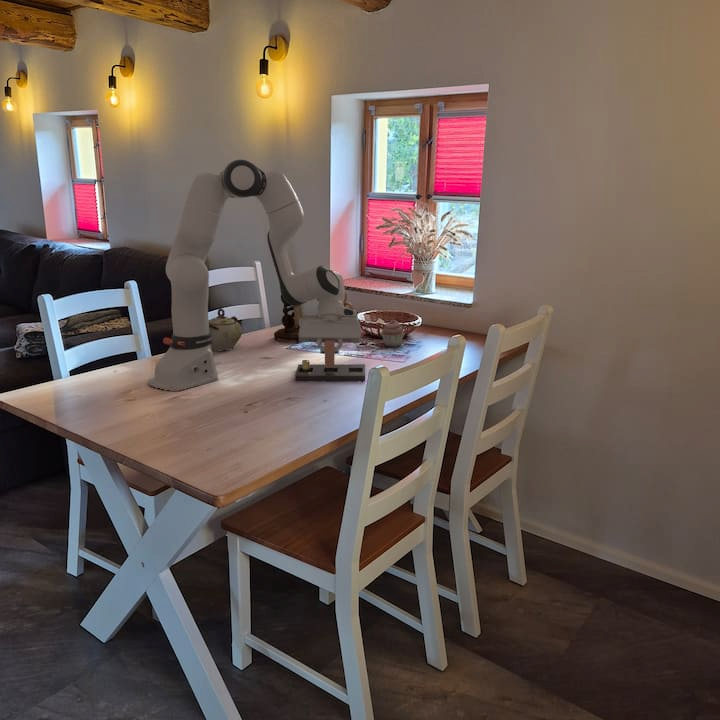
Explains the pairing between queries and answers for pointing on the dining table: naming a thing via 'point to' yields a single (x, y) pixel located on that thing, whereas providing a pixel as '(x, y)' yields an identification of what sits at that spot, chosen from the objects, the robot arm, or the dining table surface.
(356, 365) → the grey peg board
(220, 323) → the olive green rounded pot
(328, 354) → the terracotta peg
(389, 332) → the cupcake
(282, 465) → the dining table surface
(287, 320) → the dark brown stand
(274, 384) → the dining table surface
